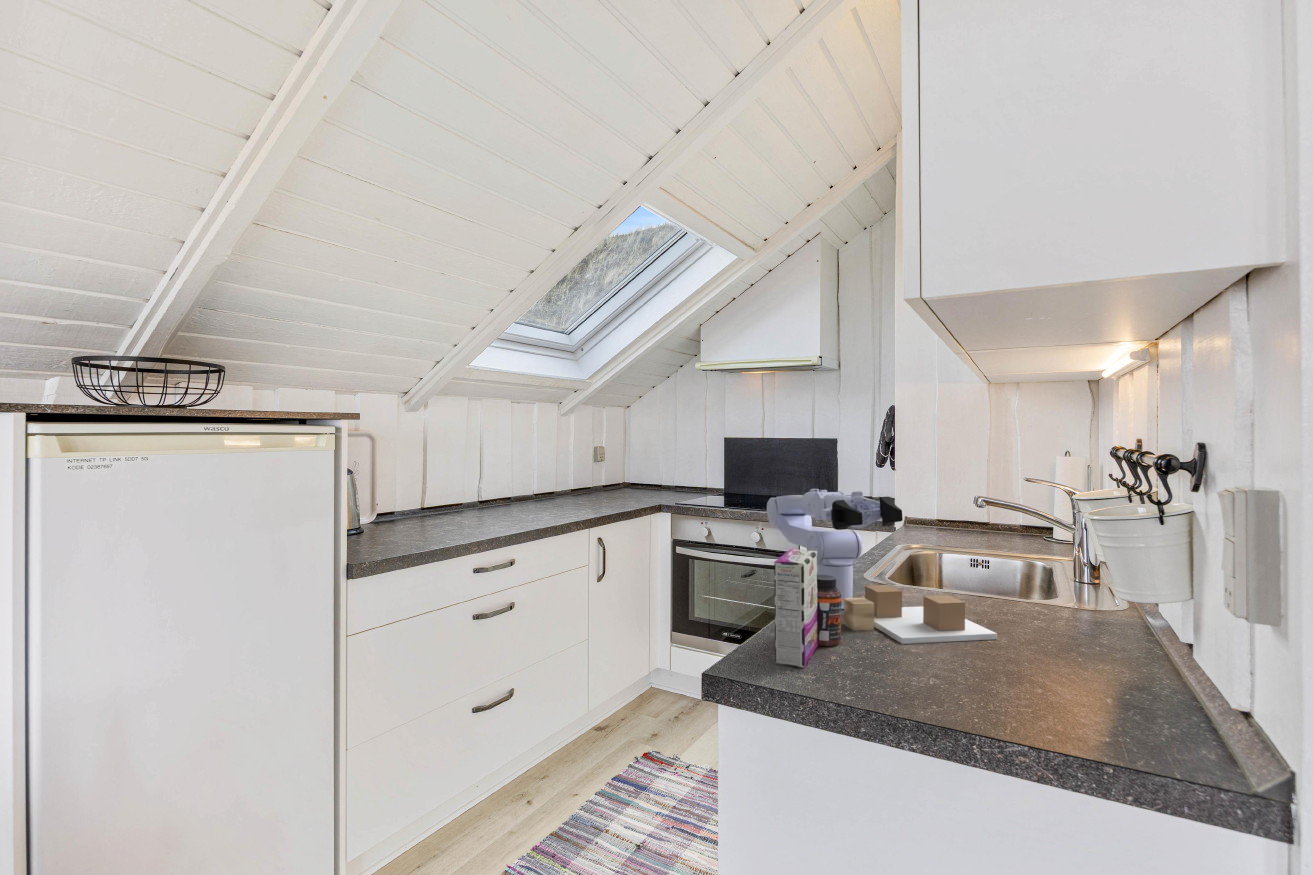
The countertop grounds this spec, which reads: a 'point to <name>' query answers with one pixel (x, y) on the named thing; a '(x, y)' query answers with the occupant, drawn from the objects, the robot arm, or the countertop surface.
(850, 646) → the countertop surface
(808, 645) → the candy bar box
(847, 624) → the block
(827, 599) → the supplement bottle
